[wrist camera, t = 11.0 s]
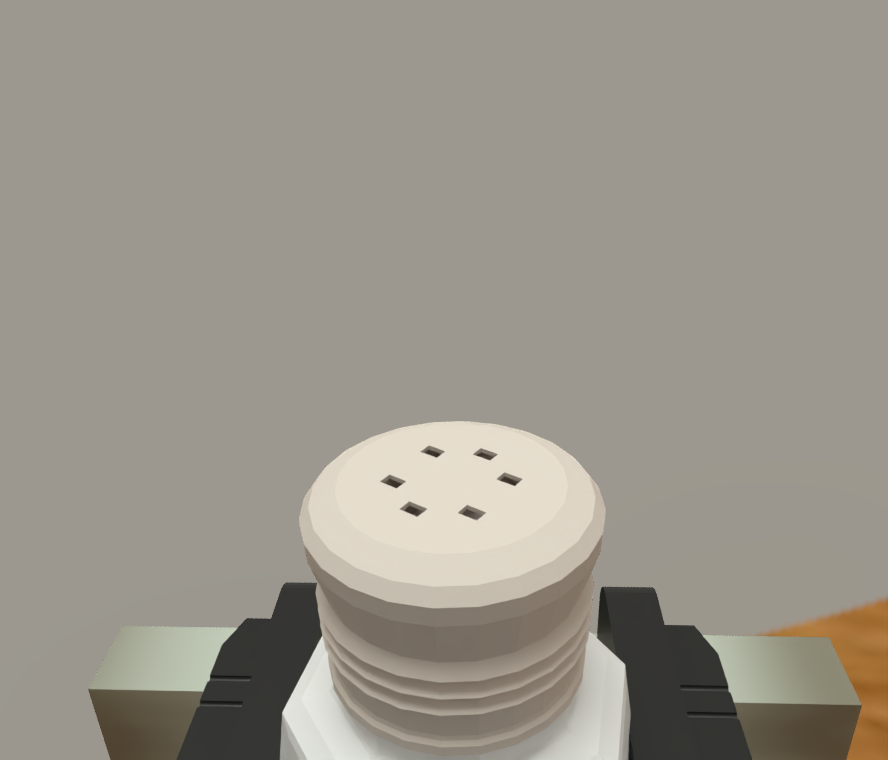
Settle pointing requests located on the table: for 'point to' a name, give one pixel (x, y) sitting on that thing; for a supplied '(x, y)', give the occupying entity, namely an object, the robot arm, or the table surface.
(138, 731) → the frame
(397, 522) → the salt shaker
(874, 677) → the table surface
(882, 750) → the table surface
